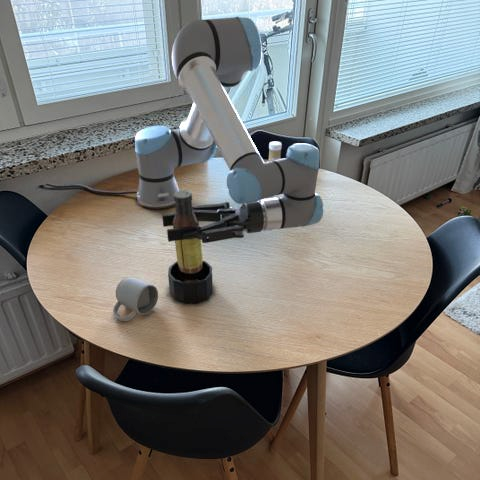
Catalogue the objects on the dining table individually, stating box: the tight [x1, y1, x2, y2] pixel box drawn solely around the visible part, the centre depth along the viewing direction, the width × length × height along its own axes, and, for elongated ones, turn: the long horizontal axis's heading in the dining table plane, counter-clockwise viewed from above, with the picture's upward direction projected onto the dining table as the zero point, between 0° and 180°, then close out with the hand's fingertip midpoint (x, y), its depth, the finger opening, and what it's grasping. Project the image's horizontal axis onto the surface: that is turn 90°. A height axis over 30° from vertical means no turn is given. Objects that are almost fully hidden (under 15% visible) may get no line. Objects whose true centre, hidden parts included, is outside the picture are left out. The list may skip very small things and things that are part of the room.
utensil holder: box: [167, 260, 214, 305], centre depth 112 cm, size 11×11×6 cm
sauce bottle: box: [172, 189, 204, 274], centre depth 103 cm, size 7×6×20 cm
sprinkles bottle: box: [268, 140, 283, 162], centre depth 165 cm, size 5×5×14 cm
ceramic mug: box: [112, 277, 159, 322], centre depth 106 cm, size 11×8×8 cm
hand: (165, 228), depth 101 cm, fingers closed on sauce bottle, 6 cm apart
